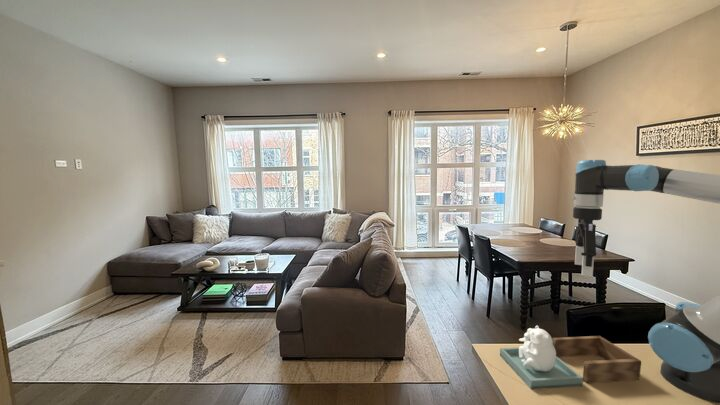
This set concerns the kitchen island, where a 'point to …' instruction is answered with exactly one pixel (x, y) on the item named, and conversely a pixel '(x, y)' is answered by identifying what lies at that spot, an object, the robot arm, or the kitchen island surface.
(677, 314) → the robot arm
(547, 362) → the figurine
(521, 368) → the tray
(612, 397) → the kitchen island surface
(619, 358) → the wooden open box
